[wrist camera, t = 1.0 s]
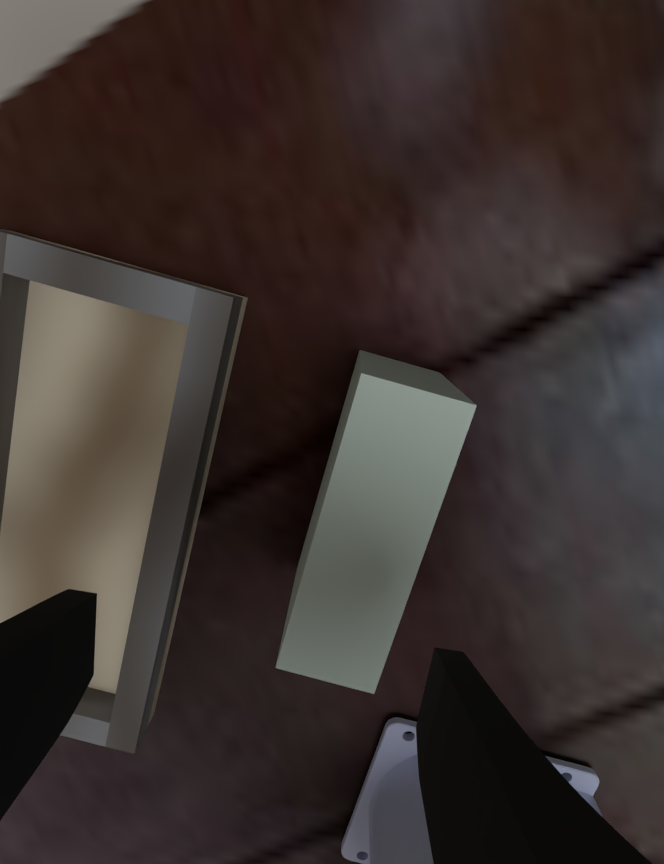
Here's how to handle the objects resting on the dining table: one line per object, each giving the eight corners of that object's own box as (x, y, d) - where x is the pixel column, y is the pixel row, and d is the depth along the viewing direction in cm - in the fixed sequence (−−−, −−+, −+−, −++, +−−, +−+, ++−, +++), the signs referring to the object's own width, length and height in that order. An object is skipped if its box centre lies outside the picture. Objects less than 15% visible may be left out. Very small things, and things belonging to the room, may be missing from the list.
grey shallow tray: (247, 297, 18) (233, 297, 16) (154, 711, 23) (134, 754, 21) (14, 231, 18) (-31, 222, 16) (-32, 663, 23) (-72, 701, 20)
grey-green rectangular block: (439, 372, 19) (476, 405, 13) (368, 584, 21) (373, 693, 15) (359, 349, 19) (360, 373, 13) (297, 565, 21) (275, 668, 15)
